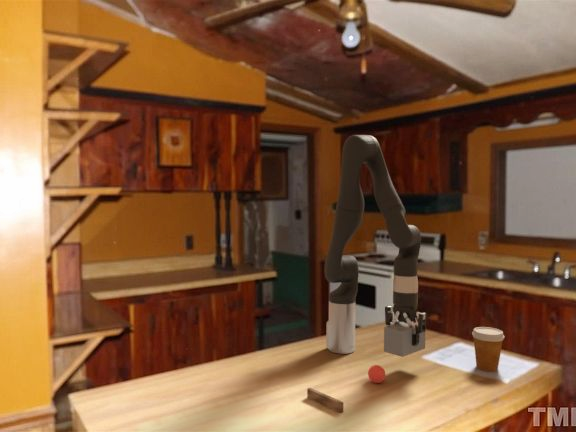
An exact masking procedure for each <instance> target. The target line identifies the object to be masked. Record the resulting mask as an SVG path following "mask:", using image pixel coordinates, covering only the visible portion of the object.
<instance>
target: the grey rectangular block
mask: <svg viewBox="0 0 576 432" xmlns="http://www.w3.org/2000/svg"><path fill="white" fill-rule="evenodd" d="M412 323H413V322H412ZM415 329H416V328H415ZM412 334H413V332H412V329H411V328H410V327H409V326H408V324H407V323H404V322H400V323H399V324H398V323H396V324H395V325H394V324H393V325H389V326H388V325H386V326H383V352H385V353H388V354H391V355H395V356H397V357H401V358H403V357H406V356H409V355H412V354H413V353H417V352H419V351H422V350H425V349H426V331H425V332H423V333H420V334H419V344H418V345H417V346H412Z"/></svg>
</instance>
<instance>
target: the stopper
mask: <svg viewBox="0 0 576 432" xmlns="http://www.w3.org/2000/svg"><path fill="white" fill-rule="evenodd" d="M306 391H307V393H306V394H307V396H306V398H307V399H309V400H312V401H313V402H316V403H319V404H320V405H322V406H324V407H327V408H329V409H331V410H334V411H335V412H338V413H339V414H342V413H344V401H342V400H339V399H337V398H335V397H333V396H330V395H329V394H325V393H324V392H321V391H319V390H316V389H314V388H312V387H307V389H306Z"/></svg>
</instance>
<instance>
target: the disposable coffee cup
mask: <svg viewBox="0 0 576 432" xmlns="http://www.w3.org/2000/svg"><path fill="white" fill-rule="evenodd" d="M471 334H472V337H473V343H474V344H473V345H474V355H475V365H476V368H477V369H479V370H481V371H484V372H496V371H498V370H499V364H500V359H501V352H502V348H503V347H502V346H503V341H504V339H505V335H504V331H503V330H500V329H499V328H496V327H495V328H494V327H491V326H490V327H489V326H488V327H487V326H478V327H474V328H473V331H472V332H471Z"/></svg>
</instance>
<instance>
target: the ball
mask: <svg viewBox="0 0 576 432" xmlns="http://www.w3.org/2000/svg"><path fill="white" fill-rule="evenodd" d="M367 375H368V378H369V380H370V381H371V382H372V383H374V384H380V383H382V382H384V380H385V378H386V371H385V369H384V368H383V367H382V366H381V365H377V364H374V365H372V366H370V368H369V369H368V372H367Z"/></svg>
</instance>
